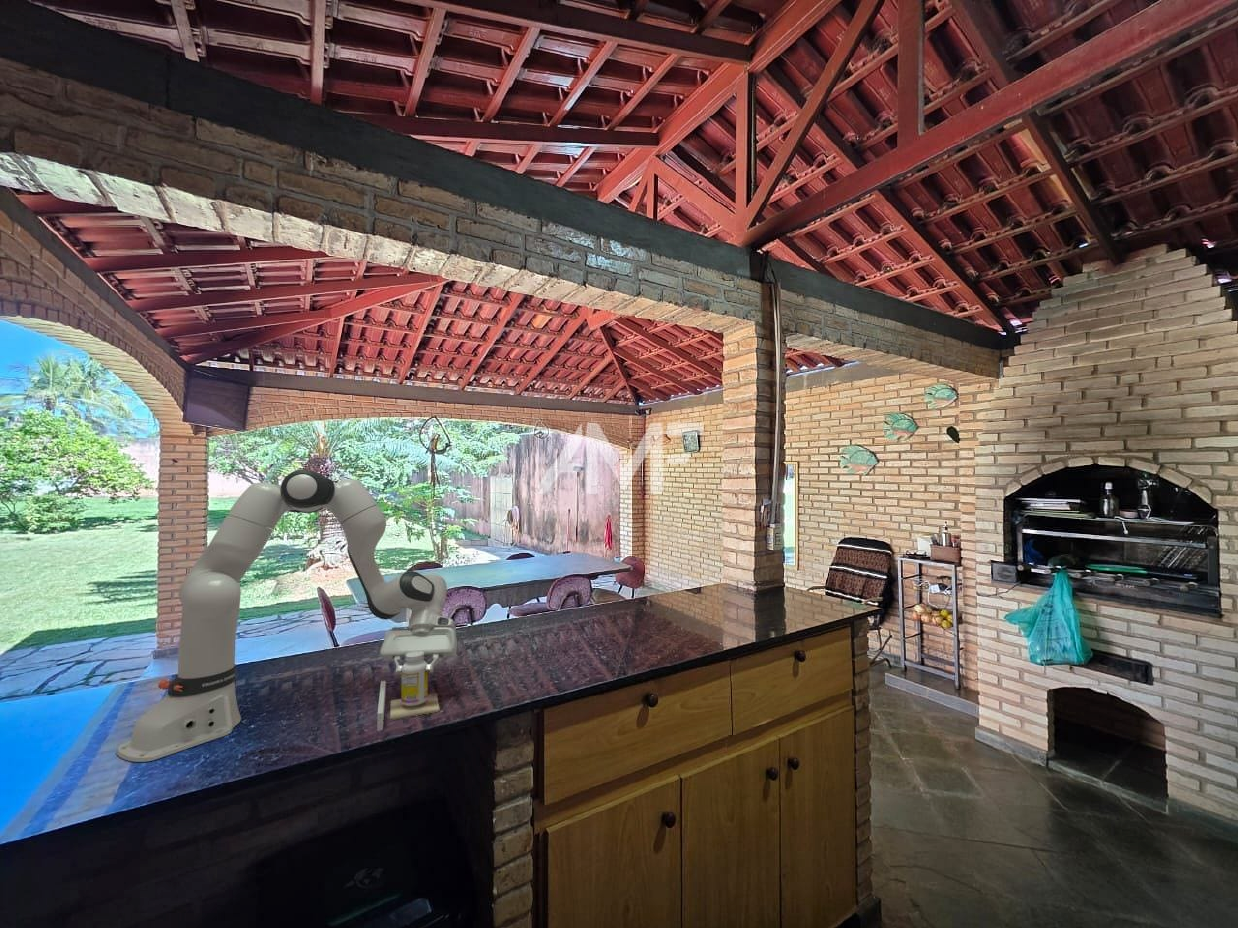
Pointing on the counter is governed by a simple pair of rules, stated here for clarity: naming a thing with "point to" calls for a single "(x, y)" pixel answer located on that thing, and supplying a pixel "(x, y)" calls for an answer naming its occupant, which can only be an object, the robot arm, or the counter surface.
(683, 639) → the counter surface
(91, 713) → the counter surface
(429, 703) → the light oak mat
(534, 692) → the counter surface
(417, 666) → the supplement bottle
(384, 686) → the frosted acrylic wall
